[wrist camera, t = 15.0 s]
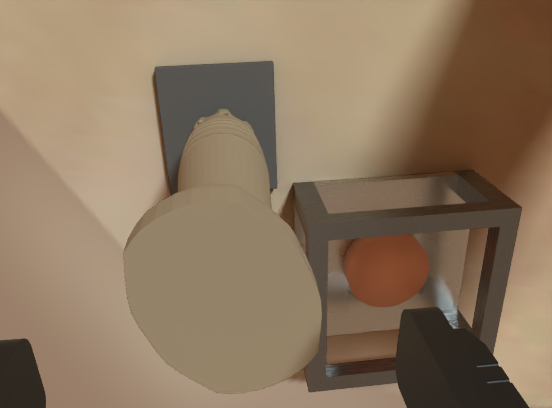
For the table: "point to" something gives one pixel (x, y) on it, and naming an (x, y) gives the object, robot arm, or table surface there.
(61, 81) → the table surface
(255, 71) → the rubber mat
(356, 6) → the table surface
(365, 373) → the guard frame
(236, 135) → the handle
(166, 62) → the table surface
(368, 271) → the button
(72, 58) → the table surface
